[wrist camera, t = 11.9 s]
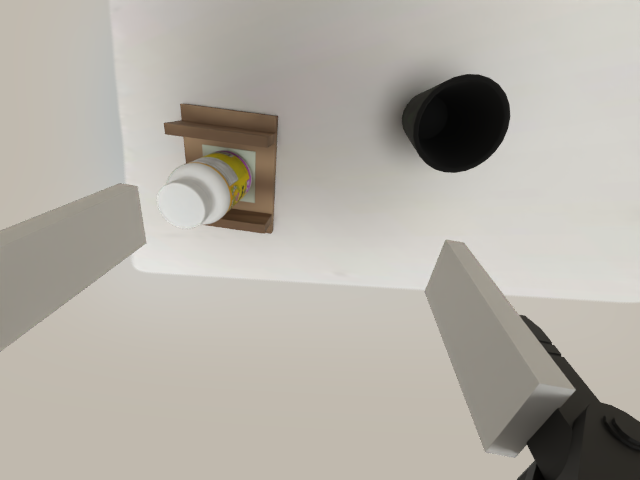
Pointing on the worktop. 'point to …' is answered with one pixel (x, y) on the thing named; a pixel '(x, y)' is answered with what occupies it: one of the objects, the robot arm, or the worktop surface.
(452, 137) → the cup
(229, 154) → the supplement bottle
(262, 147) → the holder
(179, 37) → the worktop surface
